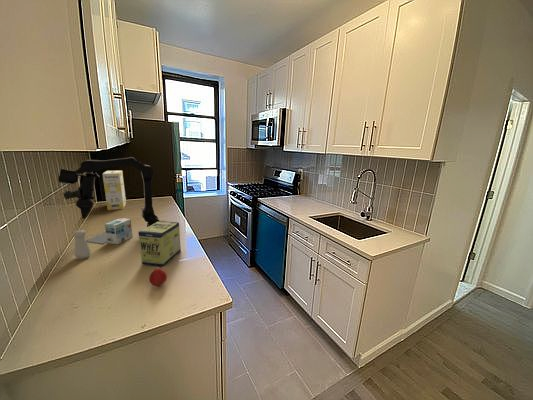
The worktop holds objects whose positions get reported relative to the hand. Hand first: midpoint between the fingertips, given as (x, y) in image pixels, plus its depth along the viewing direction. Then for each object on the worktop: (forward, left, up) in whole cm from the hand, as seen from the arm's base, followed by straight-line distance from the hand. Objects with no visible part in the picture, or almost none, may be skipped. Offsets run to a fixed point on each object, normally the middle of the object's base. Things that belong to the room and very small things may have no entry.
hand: (84, 215), depth 113 cm
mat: (-1, -8, -15) cm, 17 cm away
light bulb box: (-11, -8, -15) cm, 21 cm away
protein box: (-45, +2, -15) cm, 48 cm away
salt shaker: (-11, +12, -15) cm, 23 cm away
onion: (-58, +21, -15) cm, 64 cm away
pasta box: (+44, -59, -15) cm, 75 cm away
